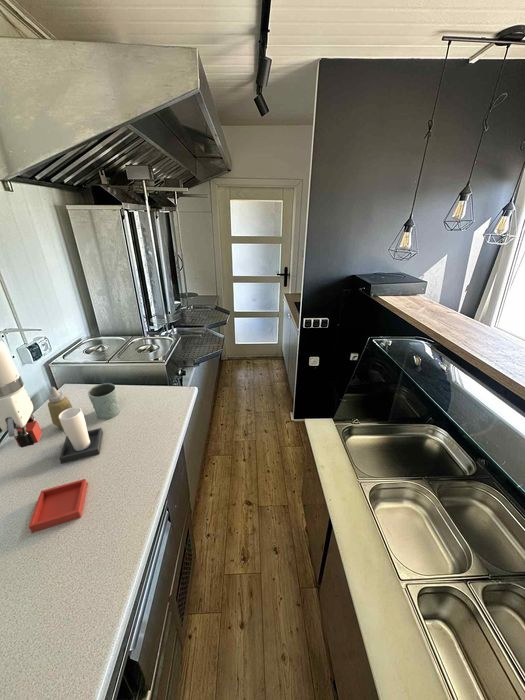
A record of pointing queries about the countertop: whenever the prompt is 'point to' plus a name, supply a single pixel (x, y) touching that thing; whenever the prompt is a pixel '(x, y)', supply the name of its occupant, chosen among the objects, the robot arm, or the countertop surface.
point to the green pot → (104, 400)
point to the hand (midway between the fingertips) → (30, 438)
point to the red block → (32, 431)
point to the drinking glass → (75, 428)
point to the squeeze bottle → (57, 406)
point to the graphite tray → (71, 454)
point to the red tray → (58, 505)
